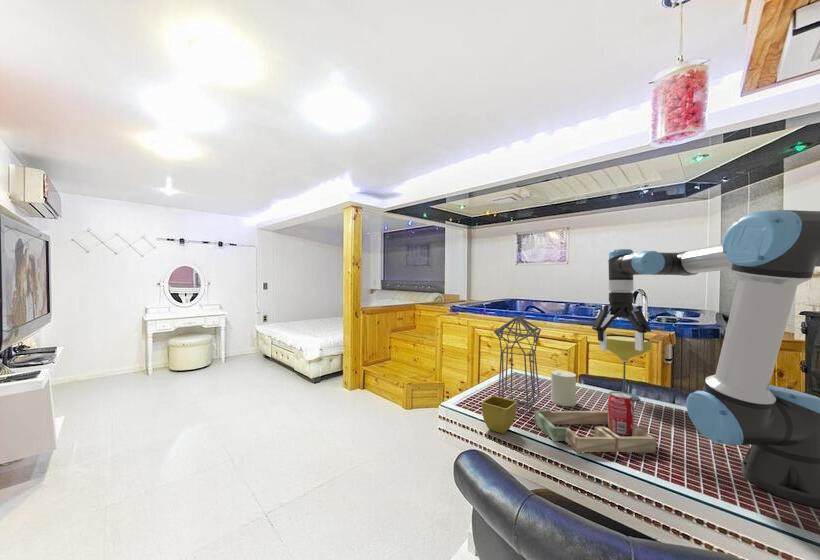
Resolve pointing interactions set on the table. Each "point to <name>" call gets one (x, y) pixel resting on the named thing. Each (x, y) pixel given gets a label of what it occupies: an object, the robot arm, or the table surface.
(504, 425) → the flower pot
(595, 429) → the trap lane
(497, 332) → the geometric lantern
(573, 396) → the can
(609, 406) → the soda can
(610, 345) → the cocktail glass
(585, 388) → the table surface
